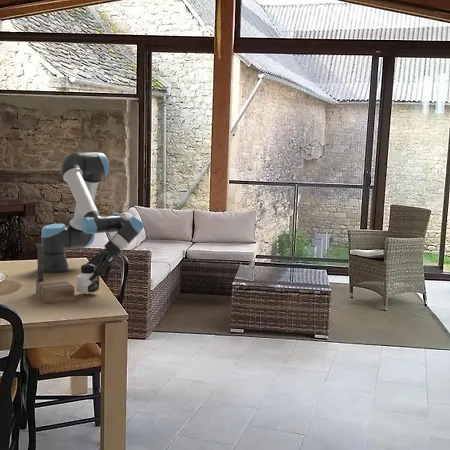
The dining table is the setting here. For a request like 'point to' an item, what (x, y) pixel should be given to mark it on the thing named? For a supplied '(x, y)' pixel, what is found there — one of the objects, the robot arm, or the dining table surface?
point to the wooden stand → (52, 284)
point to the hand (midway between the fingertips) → (80, 282)
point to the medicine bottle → (85, 272)
